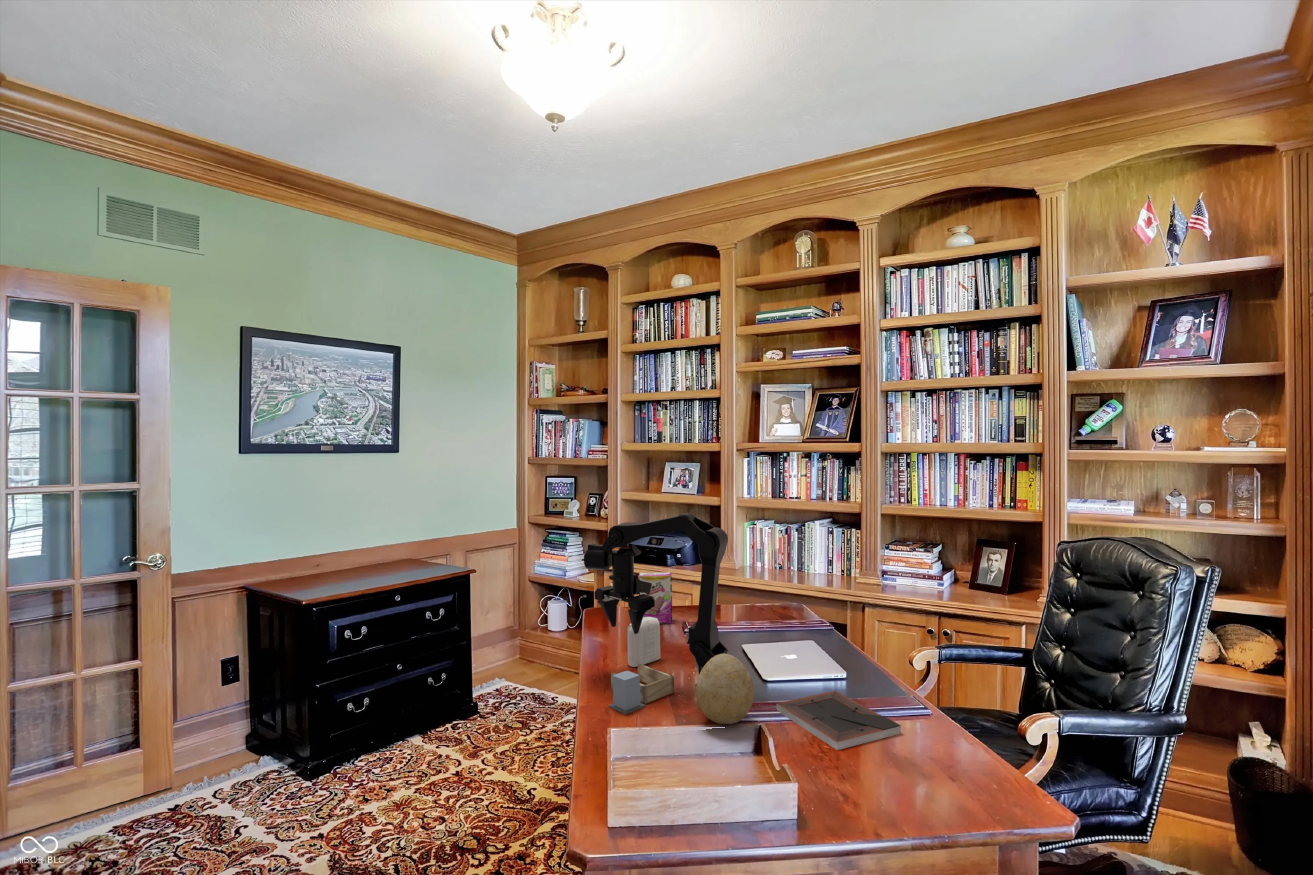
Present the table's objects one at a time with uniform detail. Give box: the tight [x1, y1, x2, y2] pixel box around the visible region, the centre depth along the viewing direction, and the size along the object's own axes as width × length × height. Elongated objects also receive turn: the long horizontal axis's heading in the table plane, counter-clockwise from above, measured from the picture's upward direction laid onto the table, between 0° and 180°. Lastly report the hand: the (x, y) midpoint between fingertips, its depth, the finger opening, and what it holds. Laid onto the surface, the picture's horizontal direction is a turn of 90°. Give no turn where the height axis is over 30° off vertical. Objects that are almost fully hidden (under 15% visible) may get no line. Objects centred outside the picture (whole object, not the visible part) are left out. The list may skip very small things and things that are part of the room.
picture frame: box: [776, 690, 902, 751], centre depth 151 cm, size 16×2×22 cm
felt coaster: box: [608, 702, 646, 715], centre depth 161 cm, size 6×6×1 cm
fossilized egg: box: [695, 653, 755, 725], centre depth 152 cm, size 13×13×15 cm
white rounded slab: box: [626, 617, 661, 668], centre depth 192 cm, size 10×4×12 cm, turn 134°
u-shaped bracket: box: [610, 664, 675, 705], centre depth 171 cm, size 13×10×4 cm
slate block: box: [612, 670, 641, 710], centre depth 161 cm, size 4×4×7 cm
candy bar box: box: [638, 571, 673, 625], centre depth 230 cm, size 11×5×16 cm, turn 91°
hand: (624, 630), depth 182 cm, fingers open, 9 cm apart
